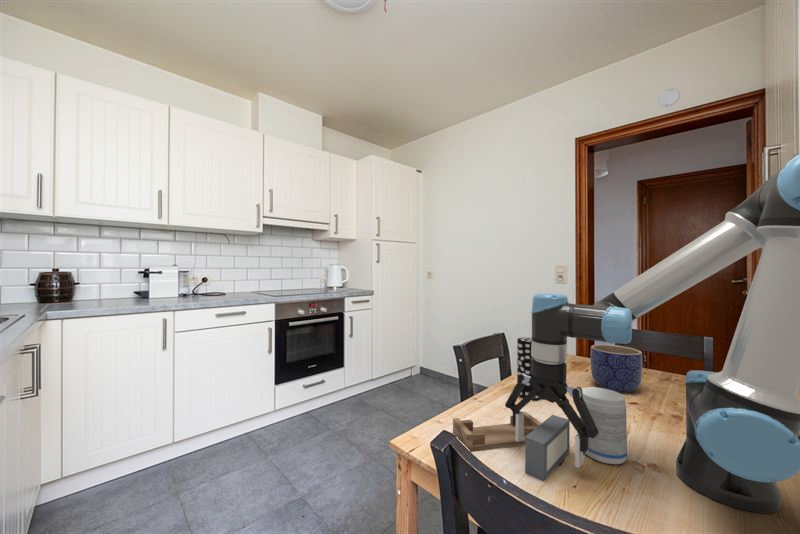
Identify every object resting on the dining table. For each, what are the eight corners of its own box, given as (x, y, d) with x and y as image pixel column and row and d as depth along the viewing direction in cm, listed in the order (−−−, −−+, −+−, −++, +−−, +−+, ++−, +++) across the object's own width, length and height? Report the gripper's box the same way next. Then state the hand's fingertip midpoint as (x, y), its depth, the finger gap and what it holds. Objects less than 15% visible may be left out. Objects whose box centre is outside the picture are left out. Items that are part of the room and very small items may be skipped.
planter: (654, 396, 114) (653, 354, 115) (607, 395, 114) (607, 354, 115) (622, 380, 131) (622, 344, 131) (582, 380, 131) (581, 343, 131)
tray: (545, 442, 82) (546, 426, 82) (466, 452, 78) (466, 434, 78) (525, 426, 91) (525, 411, 91) (452, 433, 86) (453, 418, 86)
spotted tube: (544, 395, 115) (544, 339, 115) (540, 402, 108) (540, 343, 108) (520, 390, 119) (520, 336, 120) (514, 397, 112) (515, 340, 112)
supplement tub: (637, 463, 74) (637, 399, 74) (603, 469, 71) (603, 403, 72) (602, 441, 83) (601, 385, 83) (571, 446, 81) (570, 387, 81)
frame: (569, 452, 78) (569, 419, 78) (543, 482, 67) (544, 444, 67) (552, 446, 81) (552, 414, 81) (524, 473, 70) (525, 436, 70)
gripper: (615, 369, 68) (614, 470, 68) (507, 347, 86) (506, 426, 86) (605, 377, 63) (603, 485, 62) (492, 351, 81) (491, 435, 81)
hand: (547, 451), depth 74 cm, fingers open, 13 cm apart
